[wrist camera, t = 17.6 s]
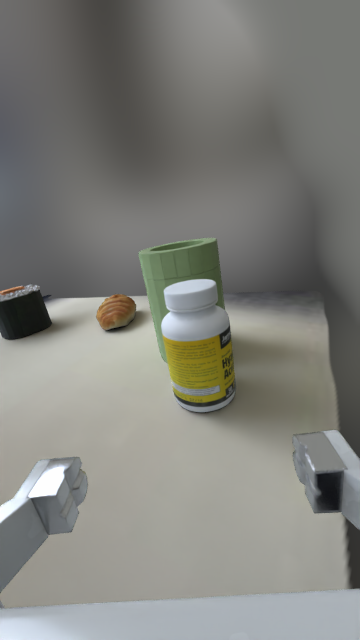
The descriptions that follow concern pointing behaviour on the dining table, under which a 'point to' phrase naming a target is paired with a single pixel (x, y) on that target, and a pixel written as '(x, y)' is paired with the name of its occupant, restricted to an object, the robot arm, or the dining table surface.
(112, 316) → the pastry
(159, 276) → the green vase
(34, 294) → the sushi
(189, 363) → the supplement bottle
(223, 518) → the dining table surface
